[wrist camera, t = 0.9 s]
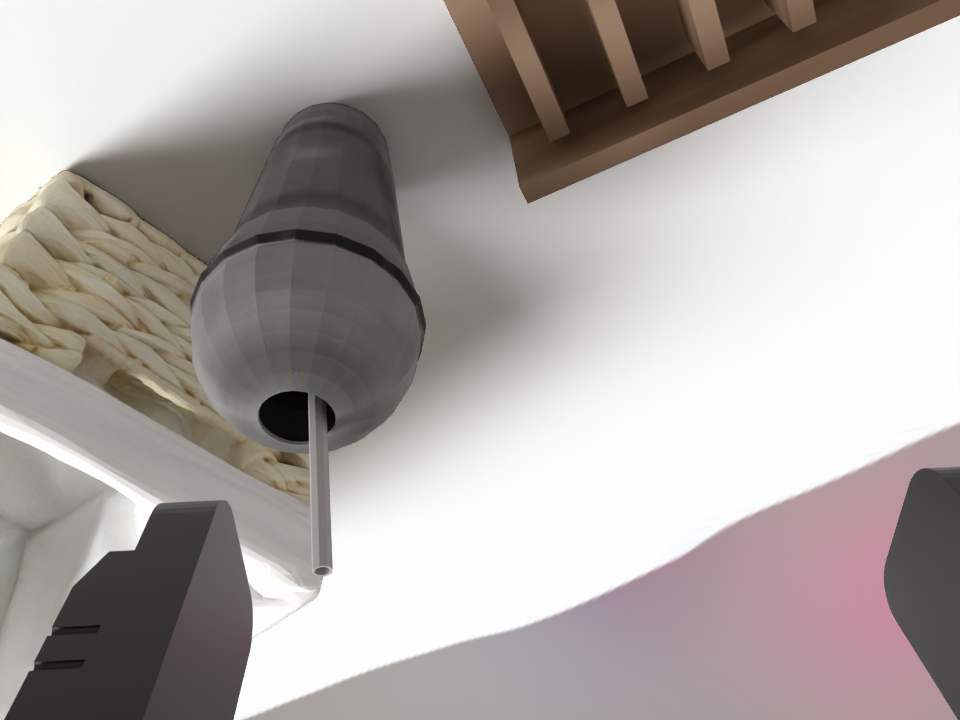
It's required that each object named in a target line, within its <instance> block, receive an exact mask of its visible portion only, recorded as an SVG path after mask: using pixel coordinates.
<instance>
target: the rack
mask: <svg viewBox="0 0 960 720" xmlns="http://www.w3.org/2000/svg"><path fill="white" fill-rule="evenodd" d="M444 2H445V4H446V6H447V8H448V10H449V12H450V15H451V17H452V19H453V21H454V23H455V25H456V27H457V29H458V31H459V33H460V35H461V37H462V39H463V41H464V44H465V46H466V48H467V50H468V52H469V54H470V56H471V58H472V60H473V62H474V64H475V66H476V68H477V70H478V73H479V75H480V77H481V79H482V81H483V83H484V85H485V87H486V89H487V91H488V93H489V95H490V97H491V99H492V102H493V104H494V106H495V108H496V110H497V112H498V114H499V116H500V118H501V120H502V122H503V124H504V126H505V128H506V131H507V133H508V135H509V137H510V142H511V147H512V152H513V157H514V162H515V167H516V172H517V177H518V182H519V187H520V189H521V191H522V193H523V195H524V197H525V199H526V201H527V203H530V202H533V201H535V200H537V199H540V198H542V197H544V196H547V195H549V194H551V193H553V192H556V191H558V190H560V189H563V188H565V187H567V186H569V185H572V184H574V183H576V182H579V181H581V180H583V179H586V178H588V177H590V176H592V175H595V174H597V173H599V172H602V171H604V170H606V169H608V168H611V167H613V166H615V165H618V164H620V163H622V162H624V161H627V160H629V159H631V158H634V157H636V156H638V155H641V154H643V153H645V152H647V151H650V150H652V149H654V148H657V147H659V146H661V145H663V144H666V143H668V142H670V141H673V140H675V139H677V138H680V137H682V136H684V135H686V134H689V133H691V132H693V131H696V130H698V129H700V128H702V127H705V126H707V125H709V124H712V123H714V122H716V121H718V120H721V119H723V118H725V117H728V116H730V115H732V114H735V113H737V112H739V111H741V110H744V109H746V108H748V107H751V106H753V105H755V104H757V103H760V102H762V101H764V100H767V99H769V98H771V97H774V96H776V95H778V94H780V93H783V92H785V91H787V90H790V89H792V88H794V87H796V86H799V85H801V84H803V83H806V82H808V81H810V80H812V79H815V78H817V77H819V76H822V75H824V74H826V73H829V72H831V71H833V70H835V69H838V68H840V67H842V66H845V65H847V64H849V63H851V62H854V61H856V60H858V59H861V58H863V57H865V56H868V55H870V54H872V53H874V52H877V51H879V50H881V49H884V48H886V47H888V46H890V45H893V44H895V43H897V42H900V41H902V40H904V39H906V38H909V37H911V36H913V35H916V34H918V33H920V32H923V31H925V30H927V29H929V28H932V27H934V26H936V25H939V24H941V23H943V22H945V21H948V20H950V19H952V18H955V17H957V16H959V15H960V0H444Z"/></svg>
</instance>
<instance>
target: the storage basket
mask: <svg viewBox="0 0 960 720" xmlns="http://www.w3.org/2000/svg"><path fill="white" fill-rule="evenodd" d="M85 194H87V196H86V198H85V199H84V195H85ZM207 267H208V266H207V265H206V264H204V263H203V262H201V261H200V260H198V259H197V258H195V257H194V256H192V255H191V254H189V253H187V252H186V251H185V250H184V249H183V248H182V247H181V246H179V245H178V244H177V243H176V242H174V241H173V240H172V239H171V238H170V237H168V236H167V235H165V234H164V233H162V232H161V231H159V230H158V229H156V228H155V227H153V226H152V225H150V224H148V223H146V222H145V221H143V220H141V219H140V218H139V217H138V216H137V215H136V214H135V212H134V211H133V210H132V209H131V208H130V207H129V206H127V205H126V204H125V203H123V202H122V201H121V200H119V199H118V198H116V197H114V196H113V195H111V194H109V193H108V192H106V191H104V190H102V189H100V188H99V187H97V186H95V185H93V184H91V183H90V182H89V181H87V180H86V179H85V178H82V177H80V176H78V175H76V174H74V173H71V172H69V171H62V172H60V173H59V174H58V175H56V176H55V177H52V179H51V180H50V181H49V183H47V184H46V185H45V186H44V187H39V190H38V192H37V195H35V196H34V197H33V198H32V199H31V200H28V201H27V202H26V203H23V204H21V205H19V206H18V207H17V208H16V209H15V210H13V211H12V213H11V215H9V216H8V217H7V218H6V219H5V220H4V221H3V222H2V224H1V225H0V720H4V719H5V717H6V715H7V713H8V711H9V709H10V707H11V705H12V703H13V702H14V700H15V698H16V696H17V694H18V692H19V690H20V688H21V686H22V684H23V682H24V680H25V678H26V676H27V674H28V672H29V671H33V669H34V661H35V659H36V657H37V655H38V653H39V651H40V649H41V647H42V645H43V643H44V641H45V639H46V637H47V636H51V634H52V626H53V624H54V622H55V620H56V618H57V616H58V614H59V612H60V610H61V608H62V606H63V604H64V602H65V601H66V599H67V597H68V595H69V593H70V591H71V589H72V587H73V586H74V585H75V584H76V583H77V582H78V581H79V580H80V579H81V578H82V577H83V576H84V575H85V574H86V573H87V572H88V571H89V570H90V569H92V568H93V567H94V566H95V565H96V564H97V563H98V562H99V561H100V560H101V559H102V558H103V557H104V556H105V555H106V554H107V553H108V552H109V551H128V550H135V548H136V546H137V544H138V542H139V539H140V537H141V535H142V533H143V530H144V528H145V526H146V524H147V522H148V519H149V517H150V515H151V513H152V511H153V509H154V508H155V507H156V506H157V505H158V504H160V503H173V502H194V501H215V500H226V501H227V502H228V503H229V505H230V506H231V509H232V512H233V516H234V520H235V525H236V529H237V534H238V538H239V543H240V547H241V552H242V556H243V560H244V565H245V569H246V574H247V578H248V583H249V587H250V592H251V597H252V607H253V630H252V639H253V638H254V637H256V636H258V635H259V634H261V633H263V632H264V631H266V630H268V629H269V628H271V627H272V626H274V625H276V624H277V623H279V622H280V621H282V620H283V619H285V618H286V617H288V616H289V615H291V614H292V613H294V612H296V611H297V610H299V609H300V608H302V607H303V606H305V605H307V604H308V603H310V602H311V601H313V600H314V599H315V598H316V597H317V595H318V594H319V592H320V588H321V584H322V580H323V576H316V575H314V574H312V549H311V504H310V460H309V454H302V453H289V452H283V451H279V450H276V449H272V448H269V447H266V446H263V445H260V444H258V443H256V442H254V441H252V440H251V439H249V438H247V437H245V436H243V435H242V434H240V433H238V432H237V431H236V430H235V429H234V428H233V427H232V426H231V425H230V424H229V423H228V422H227V421H226V420H225V419H224V418H223V417H222V416H221V415H220V414H219V413H218V412H217V411H216V410H215V409H214V408H213V407H212V405H211V403H210V402H209V400H208V398H207V396H206V394H205V392H204V390H203V388H202V386H201V384H200V382H199V380H198V378H197V376H196V373H195V369H194V366H193V359H192V341H191V310H190V300H191V297H192V295H193V292H194V290H195V287H196V285H197V282H198V280H199V277H200V274H201V273H202V272H203V271H204V270H205V269H206V268H207Z"/></svg>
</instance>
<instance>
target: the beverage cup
mask: <svg viewBox="0 0 960 720" xmlns="http://www.w3.org/2000/svg"><path fill="white" fill-rule="evenodd" d="M190 310H191V341H192V359H193V366H194V369H195V373H196V376H197V378H198V380H199V382H200V384H201V386H202V388H203V390H204V392H205V394H206V396H207V398H208V400H209V402H210V403H211V405H212V407H213V408H214V409H215V410H216V411H217V412H218V413H219V414H220V415H221V416H222V417H223V418H224V419H225V420H226V421H227V422H228V423H229V424H230V425H231V426H232V427H233V428H234V429H235V430H236V431H237V432H238V433H240V434H242V435H243V436H245V437H247V438H249V439H251V440H252V441H254V442H256V443H258V444H260V445H263V446H266V447H269V448H272V449H276V450H279V451H283V452H289V453H302V454H309V460H310V504H311V549H312V574H314V575H316V576H327V575H329V574H331V573H332V542H331V516H330V489H329V463H328V451H332V450H336V449H339V448H341V447H344V446H347V445H349V444H352V443H354V442H357V441H358V440H360V439H362V438H364V437H365V436H367V435H368V434H369V433H370V432H372V431H373V430H374V429H376V428H377V427H378V426H380V425H381V424H382V423H384V422H385V421H386V420H387V419H388V418H389V417H390V416H391V415H392V413H393V412H394V410H395V409H396V407H397V405H398V404H399V402H400V401H401V399H402V398H403V396H404V395H405V393H406V391H407V390H408V388H409V386H410V385H411V383H412V380H413V377H414V374H415V371H416V365H417V361H418V359H419V357H420V354H421V351H422V345H423V340H424V334H425V329H426V323H425V318H424V314H423V309H422V305H421V300H420V297H419V295H418V294H417V292H416V291H415V289H414V284H413V281H412V278H411V275H410V272H409V269H408V266H407V264H406V263H405V256H404V249H403V242H402V235H401V228H400V221H399V214H398V207H397V200H396V193H395V185H394V178H393V172H392V167H391V163H390V158H389V155H388V150H387V146H386V141H385V138H384V136H383V135H382V133H381V131H380V130H379V128H378V127H377V125H376V124H375V123H374V122H373V121H372V120H371V119H369V118H368V117H367V116H366V115H365V114H364V113H362V112H360V111H358V110H356V109H353V108H351V107H349V106H347V105H340V104H333V103H325V104H319V105H312V106H310V107H308V108H306V109H304V110H302V111H300V112H298V113H297V114H296V115H295V116H294V117H293V118H292V119H291V120H290V121H289V122H288V123H287V124H286V126H285V128H284V131H283V133H282V134H281V136H280V137H279V138H278V139H277V141H276V143H275V145H274V147H273V149H272V152H271V154H270V156H269V158H268V160H267V162H266V165H265V167H264V169H263V171H262V173H261V175H260V178H259V180H258V182H257V184H256V186H255V188H254V191H253V193H252V195H251V197H250V199H249V201H248V204H247V206H246V208H245V210H244V212H243V214H242V217H241V219H240V221H239V223H238V225H237V227H236V230H235V232H234V234H233V236H232V237H231V238H230V239H229V240H228V241H227V242H226V243H225V244H224V245H223V247H222V248H221V250H220V251H219V252H218V254H217V255H216V256H215V258H214V259H213V260H212V263H211V264H210V265H209V266H208V267H207V268H206V269H205V270H204V271H203V272H202V273H201V274H200V277H199V280H198V282H197V285H196V287H195V290H194V292H193V295H192V297H191V300H190Z"/></svg>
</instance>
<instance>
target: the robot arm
mask: <svg viewBox="0 0 960 720" xmlns="http://www.w3.org/2000/svg"><path fill="white" fill-rule="evenodd" d="M884 584H885V591H886V596H887V601H888V604H889V607H890V609H891V612H892V614H893V616H894V618H895V620H896V621H897V623H898V625H899V626H900V628H901V629H902V631H903V632H904V634H905V636H906V637H907V639H908V640H909V642H910V644H911V645H912V647H913V648H914V650H915V652H916V653H917V655H918V656H919V658H920V660H921V661H922V663H923V664H924V666H925V668H926V669H927V671H928V672H929V674H930V676H931V677H932V679H933V680H934V682H935V683H936V685H937V686H938V688H939V690H940V692H941V693H942V695H943V696H944V698H945V700H946V701H947V703H948V704H949V706H950V707H951V709H952V711H953V712H954V714H955V716H956V717H957V719H958V720H960V467H943V468H924V469H921V470H919V471H917V472H916V473H915V474H914V476H913V477H912V479H911V481H910V484H909V487H908V490H907V493H906V497H905V500H904V503H903V507H902V510H901V513H900V517H899V520H898V523H897V527H896V530H895V533H894V537H893V540H892V543H891V546H890V550H889V553H888V556H887V560H886V563H885V569H884ZM252 630H253V607H252V597H251V592H250V587H249V583H248V578H247V574H246V569H245V565H244V560H243V556H242V552H241V547H240V543H239V538H238V534H237V529H236V525H235V520H234V516H233V512H232V509H231V506H230V505H229V503H228V502H227V501H226V500H215V501H194V502H173V503H160V504H158V505H157V506H156V507H155V508H154V509H153V511H152V513H151V515H150V517H149V519H148V522H147V524H146V526H145V528H144V530H143V533H142V535H141V537H140V539H139V542H138V544H137V546H136V548H135V550H128V551H109V552H108V553H107V554H106V555H105V556H104V557H103V558H102V559H101V560H100V561H99V562H98V563H97V564H96V565H95V566H94V567H93V568H92V569H90V570H89V571H88V572H87V573H86V574H85V575H84V576H83V577H82V578H81V579H80V580H79V581H78V582H77V583H76V584H75V585H74V586H73V587H72V589H71V591H70V593H69V595H68V597H67V599H66V601H65V602H64V604H63V606H62V608H61V610H60V612H59V614H58V616H57V618H56V620H55V622H54V624H53V626H52V634H51V636H47V637H46V639H45V641H44V643H43V645H42V647H41V649H40V651H39V653H38V655H37V657H36V659H35V661H34V669H33V671H29V672H28V674H27V676H26V678H25V680H24V682H23V684H22V686H21V688H20V690H19V692H18V694H17V696H16V698H15V700H14V702H13V703H12V705H11V707H10V709H9V711H8V713H7V715H6V717H5V719H4V720H233V719H234V715H235V710H236V706H237V702H238V698H239V694H240V690H241V685H242V681H243V677H244V673H245V669H246V665H247V661H248V656H249V652H250V647H251V641H252Z"/></svg>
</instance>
